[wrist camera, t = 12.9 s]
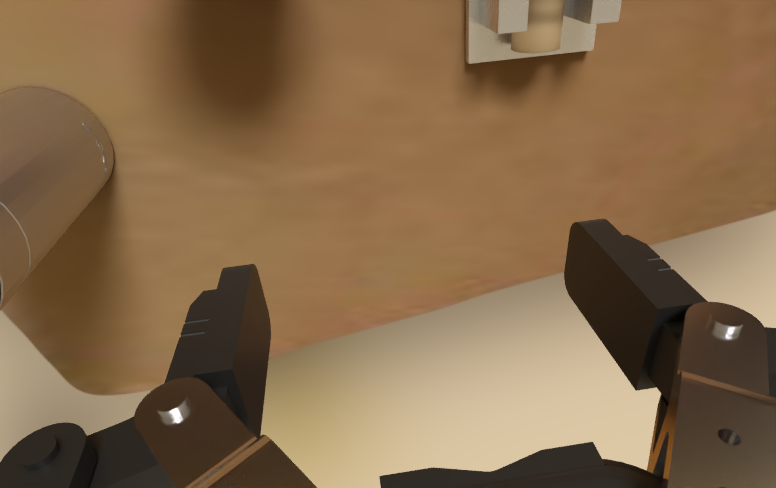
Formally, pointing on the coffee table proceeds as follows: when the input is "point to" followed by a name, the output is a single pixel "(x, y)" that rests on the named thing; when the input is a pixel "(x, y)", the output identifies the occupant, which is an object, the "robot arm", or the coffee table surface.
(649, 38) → the coffee table surface
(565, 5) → the white peg stand
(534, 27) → the dowel
